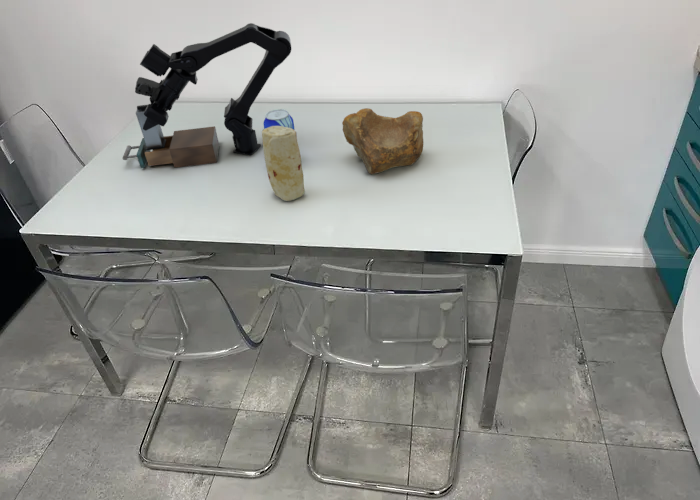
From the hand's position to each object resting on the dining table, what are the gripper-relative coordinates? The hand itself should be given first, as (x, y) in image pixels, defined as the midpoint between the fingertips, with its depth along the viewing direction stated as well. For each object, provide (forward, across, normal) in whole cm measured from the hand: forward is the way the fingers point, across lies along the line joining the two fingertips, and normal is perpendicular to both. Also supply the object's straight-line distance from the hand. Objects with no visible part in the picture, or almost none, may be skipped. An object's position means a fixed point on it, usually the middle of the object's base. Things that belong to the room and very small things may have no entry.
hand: (145, 125), depth 167 cm
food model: (-20, +30, +37) cm, 51 cm away
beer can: (-19, +12, +36) cm, 43 cm away
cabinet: (-1, 0, +17) cm, 17 cm away
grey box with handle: (+4, 0, +6) cm, 7 cm away
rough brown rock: (-39, +19, +56) cm, 71 cm away
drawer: (+8, 0, +7) cm, 11 cm away
